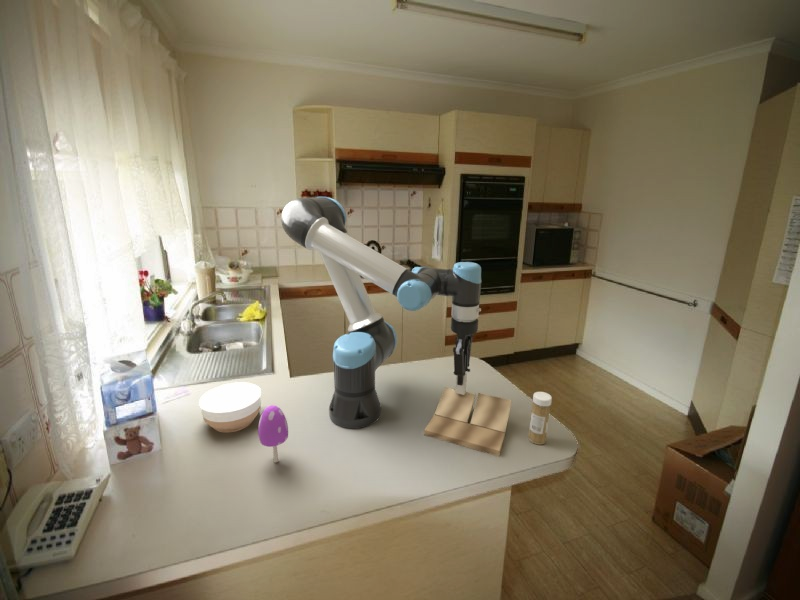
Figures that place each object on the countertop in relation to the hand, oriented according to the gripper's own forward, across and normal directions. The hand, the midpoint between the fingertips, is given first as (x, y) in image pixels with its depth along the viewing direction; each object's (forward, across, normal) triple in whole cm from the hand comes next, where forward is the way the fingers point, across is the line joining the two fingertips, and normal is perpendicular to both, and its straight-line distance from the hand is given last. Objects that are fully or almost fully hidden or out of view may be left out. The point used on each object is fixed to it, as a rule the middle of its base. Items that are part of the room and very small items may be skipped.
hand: (460, 392), depth 116 cm
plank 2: (+3, -3, -10) cm, 11 cm away
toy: (+5, -41, +34) cm, 54 cm away
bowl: (+5, -33, +56) cm, 66 cm away
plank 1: (+3, -3, +1) cm, 4 cm away
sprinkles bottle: (+6, -5, -23) cm, 24 cm away
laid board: (+6, -12, -5) cm, 14 cm away
